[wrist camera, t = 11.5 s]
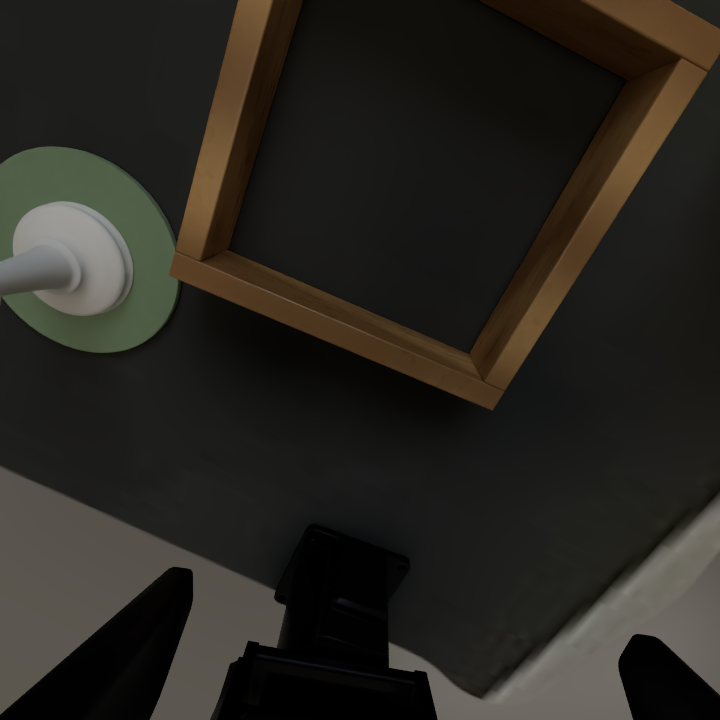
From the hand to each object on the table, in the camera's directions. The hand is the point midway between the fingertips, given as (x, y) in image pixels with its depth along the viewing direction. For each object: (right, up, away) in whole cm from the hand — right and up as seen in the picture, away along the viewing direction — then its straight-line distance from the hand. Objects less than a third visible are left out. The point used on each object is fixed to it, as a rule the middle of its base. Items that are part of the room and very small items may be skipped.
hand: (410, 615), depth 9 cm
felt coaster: (-14, +10, +11) cm, 20 cm away
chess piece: (-13, +10, +11) cm, 20 cm away
